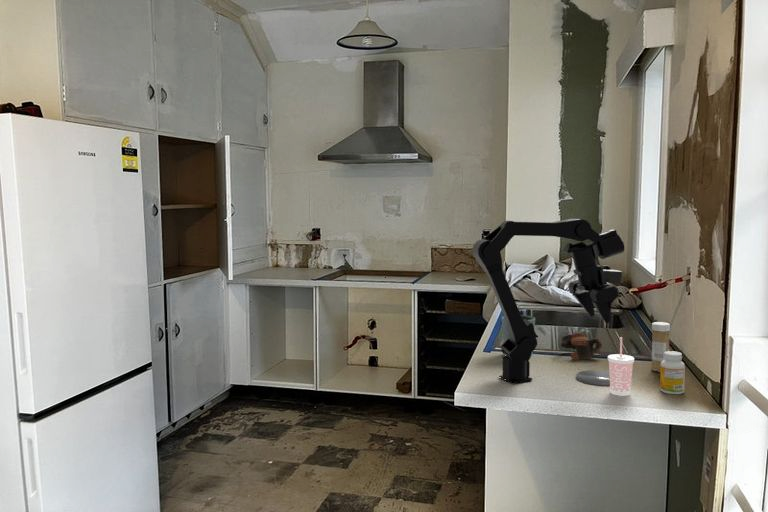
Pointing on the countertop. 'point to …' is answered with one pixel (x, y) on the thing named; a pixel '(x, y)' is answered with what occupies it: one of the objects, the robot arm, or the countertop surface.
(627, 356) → the beverage cup
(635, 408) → the countertop surface
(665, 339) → the sprinkles bottle
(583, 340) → the pottery mug
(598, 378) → the coaster
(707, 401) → the countertop surface
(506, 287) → the robot arm
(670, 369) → the supplement bottle
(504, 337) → the drinking glass
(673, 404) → the countertop surface
